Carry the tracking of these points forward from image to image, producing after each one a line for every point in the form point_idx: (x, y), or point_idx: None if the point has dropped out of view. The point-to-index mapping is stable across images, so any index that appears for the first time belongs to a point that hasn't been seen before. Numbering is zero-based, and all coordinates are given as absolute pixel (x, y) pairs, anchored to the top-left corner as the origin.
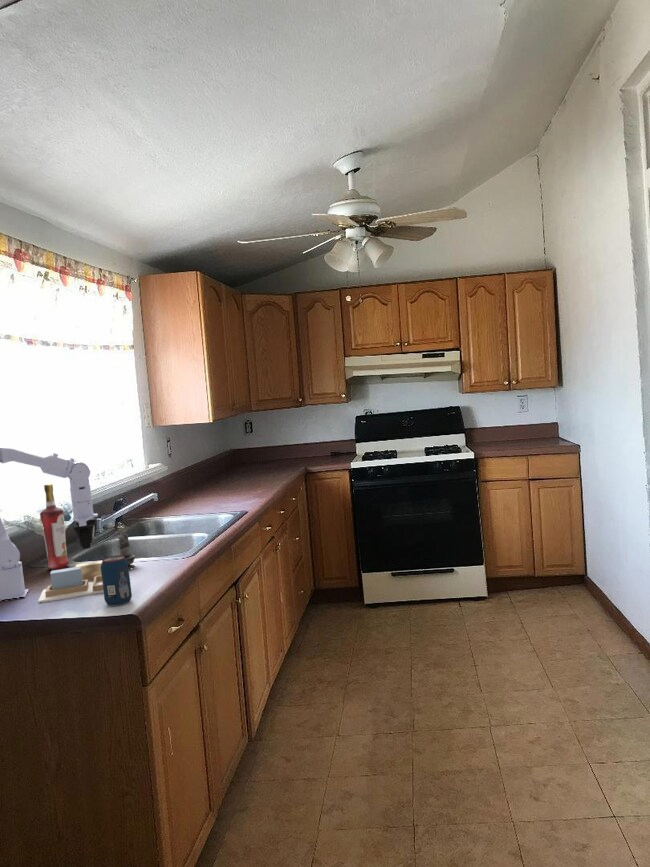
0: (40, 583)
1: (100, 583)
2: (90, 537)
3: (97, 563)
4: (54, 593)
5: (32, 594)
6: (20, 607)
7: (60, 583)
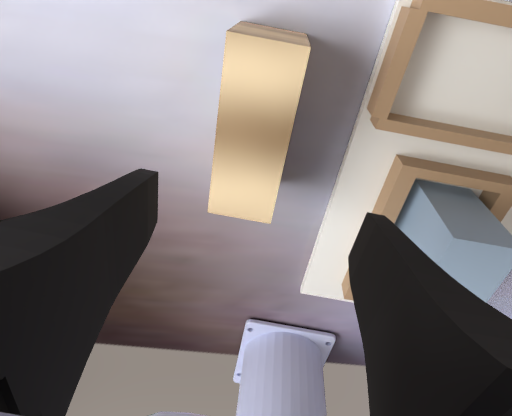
0: (162, 281)
1: (441, 101)
2: (446, 276)
3: (287, 107)
4: None
5: (307, 313)
6: None
7: None
